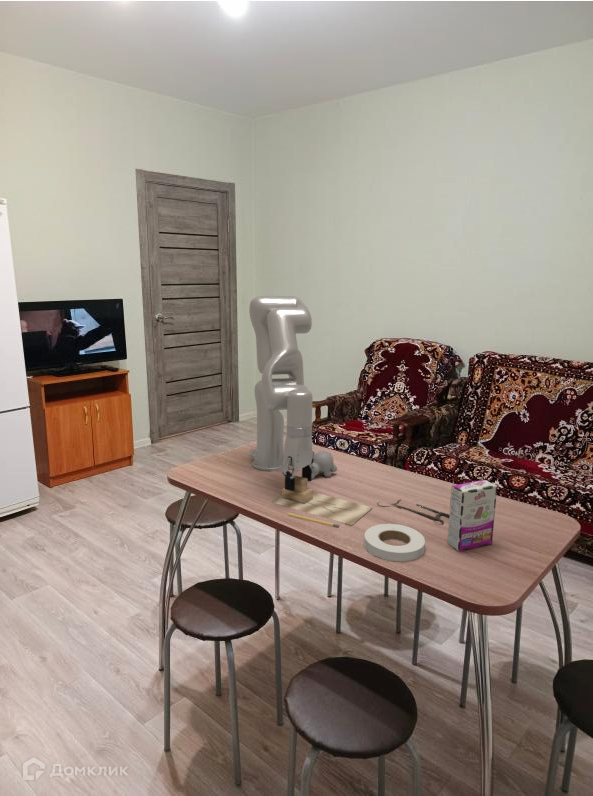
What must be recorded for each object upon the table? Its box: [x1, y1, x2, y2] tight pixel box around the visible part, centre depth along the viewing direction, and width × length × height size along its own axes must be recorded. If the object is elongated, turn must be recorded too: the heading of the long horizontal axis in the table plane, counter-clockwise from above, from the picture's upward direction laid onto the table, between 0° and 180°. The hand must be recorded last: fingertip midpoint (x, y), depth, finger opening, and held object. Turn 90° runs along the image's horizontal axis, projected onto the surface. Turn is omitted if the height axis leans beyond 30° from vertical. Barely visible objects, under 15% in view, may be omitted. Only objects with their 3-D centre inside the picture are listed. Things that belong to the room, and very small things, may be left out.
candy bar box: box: [447, 479, 498, 552], centre depth 140 cm, size 11×5×16 cm, turn 114°
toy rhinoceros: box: [311, 450, 338, 480], centre depth 186 cm, size 7×12×8 cm, turn 128°
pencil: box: [287, 512, 340, 529], centre depth 153 cm, size 16×1×1 cm, turn 63°
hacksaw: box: [376, 499, 450, 525], centre depth 160 cm, size 24×10×2 cm, turn 43°
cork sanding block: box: [281, 474, 314, 504], centre depth 167 cm, size 8×5×6 cm, turn 58°
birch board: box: [268, 491, 374, 527], centre depth 164 cm, size 28×14×1 cm, turn 58°
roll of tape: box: [363, 523, 426, 563], centre depth 140 cm, size 16×15×3 cm
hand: (298, 485), depth 166 cm, fingers open, 9 cm apart
